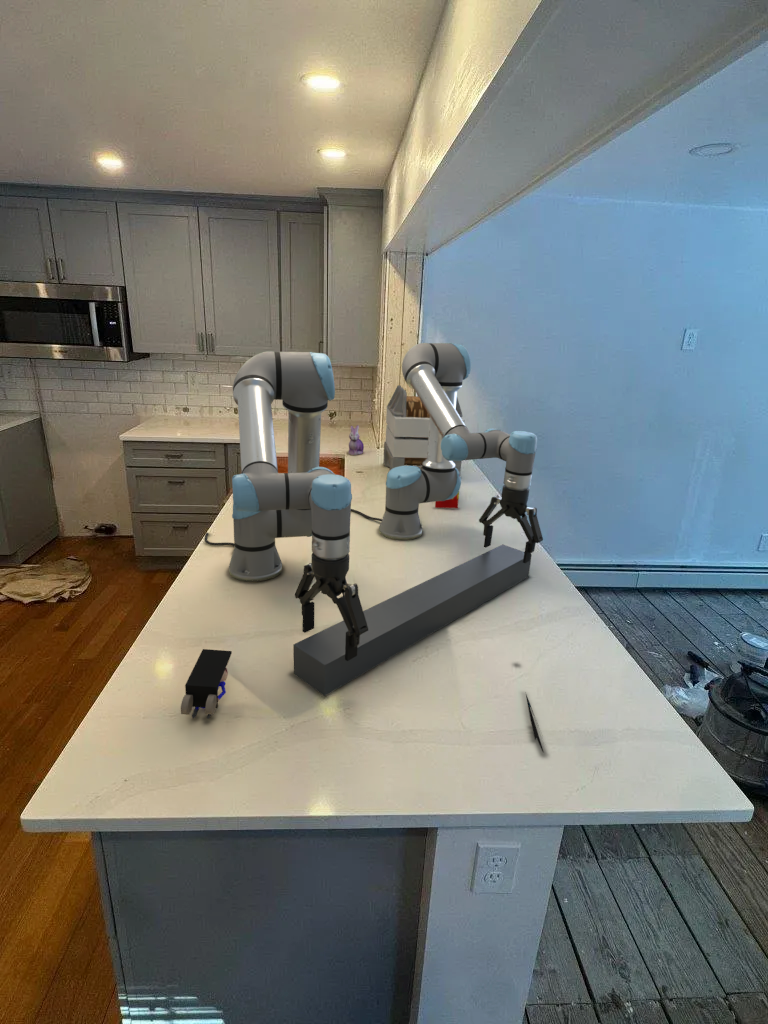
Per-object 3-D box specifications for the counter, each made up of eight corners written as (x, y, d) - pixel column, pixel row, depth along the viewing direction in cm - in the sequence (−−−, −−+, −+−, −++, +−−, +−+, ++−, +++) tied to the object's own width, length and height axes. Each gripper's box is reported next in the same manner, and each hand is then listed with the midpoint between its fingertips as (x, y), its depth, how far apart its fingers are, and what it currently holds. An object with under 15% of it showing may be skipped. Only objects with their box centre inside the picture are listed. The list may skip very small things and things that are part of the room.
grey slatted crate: (382, 463, 289) (386, 382, 275) (445, 464, 293) (451, 384, 279) (390, 482, 257) (394, 392, 243) (460, 483, 261) (468, 394, 247)
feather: (517, 669, 129) (522, 662, 128) (543, 757, 102) (550, 750, 102) (511, 665, 129) (516, 659, 128) (535, 752, 102) (542, 745, 101)
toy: (452, 466, 252) (464, 476, 223) (451, 496, 255) (462, 509, 226) (425, 465, 252) (433, 475, 222) (424, 495, 254) (431, 508, 225)
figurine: (351, 455, 300) (352, 427, 295) (343, 451, 309) (344, 424, 304) (367, 454, 304) (368, 426, 299) (359, 450, 313) (360, 423, 308)
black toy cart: (217, 731, 106) (235, 675, 120) (214, 701, 103) (232, 647, 116) (181, 730, 106) (203, 674, 119) (176, 700, 103) (199, 646, 116)
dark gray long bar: (500, 566, 178) (502, 544, 176) (528, 576, 172) (531, 554, 169) (293, 674, 122) (293, 644, 119) (324, 696, 115) (324, 665, 113)
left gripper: (277, 538, 118) (278, 625, 125) (361, 581, 102) (357, 678, 110) (305, 529, 123) (305, 613, 131) (389, 568, 107) (383, 662, 115)
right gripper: (472, 477, 166) (464, 543, 174) (549, 501, 151) (537, 572, 159) (487, 473, 172) (478, 537, 179) (562, 495, 156) (550, 564, 164)
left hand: (329, 643), depth 120 cm, fingers open, 13 cm apart
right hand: (506, 553), depth 169 cm, fingers open, 13 cm apart
